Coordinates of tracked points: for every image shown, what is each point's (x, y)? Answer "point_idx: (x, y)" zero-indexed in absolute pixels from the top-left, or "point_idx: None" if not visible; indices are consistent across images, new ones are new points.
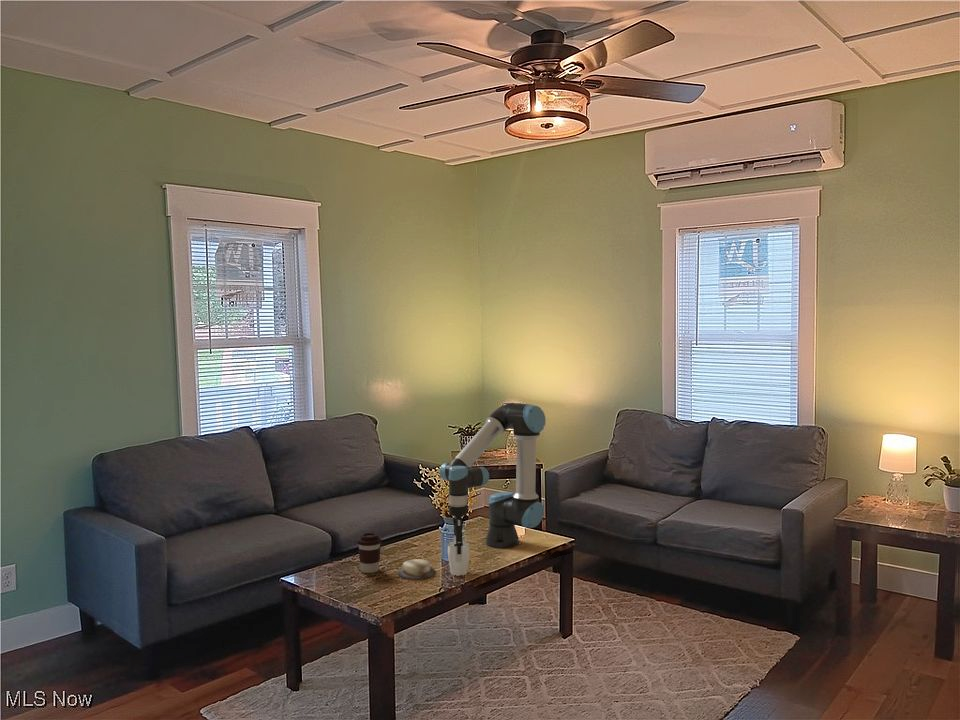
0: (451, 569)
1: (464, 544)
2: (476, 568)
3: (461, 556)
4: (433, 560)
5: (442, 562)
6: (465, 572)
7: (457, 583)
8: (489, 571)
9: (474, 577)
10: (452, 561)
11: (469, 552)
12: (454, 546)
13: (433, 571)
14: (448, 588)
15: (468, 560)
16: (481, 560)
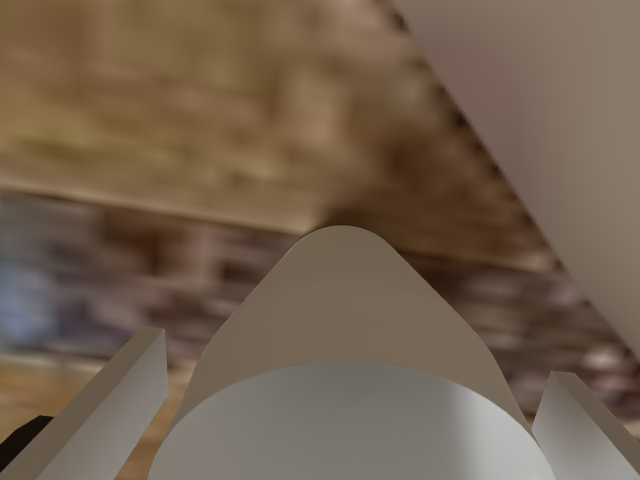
0: (373, 365)
1: (203, 373)
2: (251, 125)
3: (619, 437)
4: (49, 403)
5: (90, 357)
6: (394, 249)
7: (560, 327)
8: (355, 7)
9: (475, 182)
10: (416, 422)
11: (406, 286)
12: (193, 469)
13: None
14: (631, 394)
15: (384, 255)
16: (27, 34)
